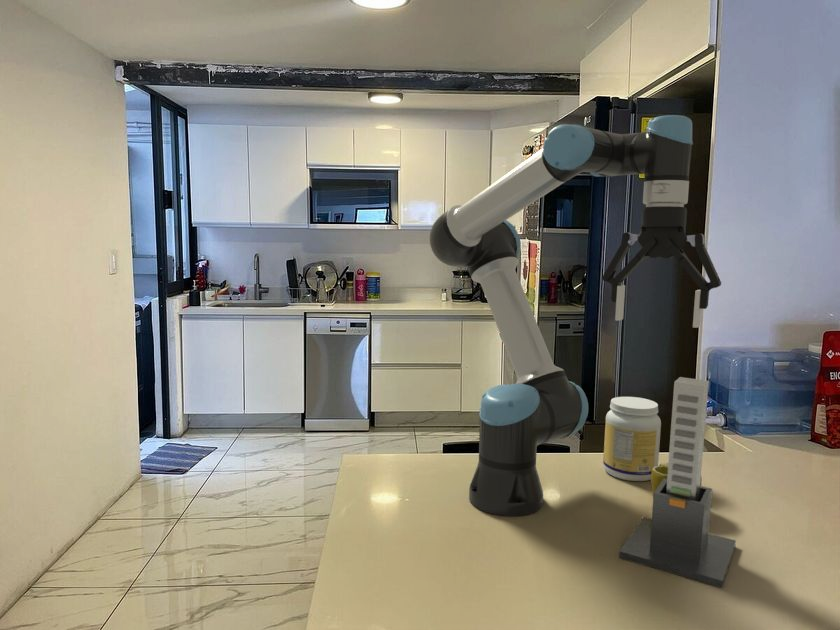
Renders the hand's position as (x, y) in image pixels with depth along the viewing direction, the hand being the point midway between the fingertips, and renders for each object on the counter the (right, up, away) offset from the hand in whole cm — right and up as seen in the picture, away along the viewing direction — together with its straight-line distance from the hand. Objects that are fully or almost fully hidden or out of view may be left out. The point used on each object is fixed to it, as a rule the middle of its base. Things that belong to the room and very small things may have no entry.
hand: (656, 323), depth 115 cm
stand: (+2, -40, -6) cm, 40 cm away
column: (+2, -31, -7) cm, 32 cm away
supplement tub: (+5, -35, +31) cm, 47 cm away
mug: (+8, -38, +13) cm, 41 cm away
